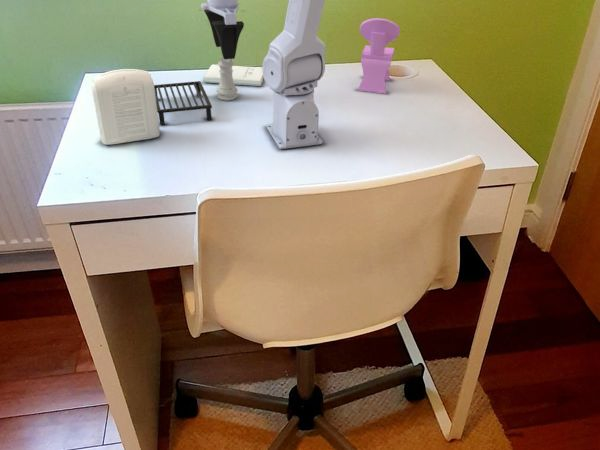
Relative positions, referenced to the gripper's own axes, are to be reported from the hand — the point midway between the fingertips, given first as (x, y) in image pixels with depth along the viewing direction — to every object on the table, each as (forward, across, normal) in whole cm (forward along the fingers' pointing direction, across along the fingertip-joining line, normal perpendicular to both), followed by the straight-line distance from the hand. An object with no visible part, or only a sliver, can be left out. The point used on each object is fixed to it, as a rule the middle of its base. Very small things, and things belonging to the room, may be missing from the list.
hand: (225, 52), depth 109 cm
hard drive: (+10, -10, +4) cm, 14 cm away
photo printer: (+10, +14, -20) cm, 27 cm away
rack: (+9, +4, -10) cm, 14 cm away
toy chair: (+10, +1, +33) cm, 34 cm away
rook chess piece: (+10, 0, 0) cm, 10 cm away
